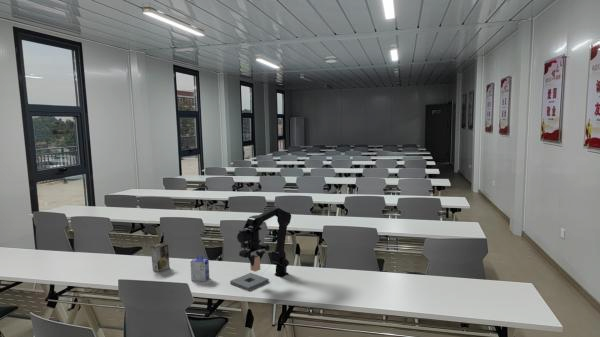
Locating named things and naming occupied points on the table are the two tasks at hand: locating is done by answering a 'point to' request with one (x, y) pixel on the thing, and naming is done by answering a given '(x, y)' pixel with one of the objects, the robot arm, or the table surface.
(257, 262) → the tan rectangular block
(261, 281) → the pocket plate
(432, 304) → the table surface
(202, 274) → the ink cartridge box
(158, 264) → the coffee box
